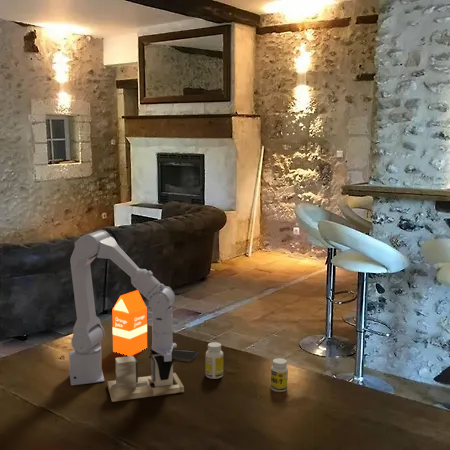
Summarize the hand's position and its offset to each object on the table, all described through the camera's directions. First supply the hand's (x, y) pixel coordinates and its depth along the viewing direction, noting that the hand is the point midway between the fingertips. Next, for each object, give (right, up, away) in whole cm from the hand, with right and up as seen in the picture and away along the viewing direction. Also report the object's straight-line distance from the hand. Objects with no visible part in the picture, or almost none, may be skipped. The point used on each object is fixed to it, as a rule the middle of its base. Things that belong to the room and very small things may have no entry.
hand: (162, 376), depth 156 cm
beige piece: (-5, -3, -1) cm, 6 cm away
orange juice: (-14, +1, +28) cm, 32 cm away
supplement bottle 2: (+33, -4, 0) cm, 34 cm away
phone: (+1, 0, +24) cm, 24 cm away
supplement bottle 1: (+15, -2, +9) cm, 17 cm away
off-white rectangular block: (0, -2, 0) cm, 2 cm away
